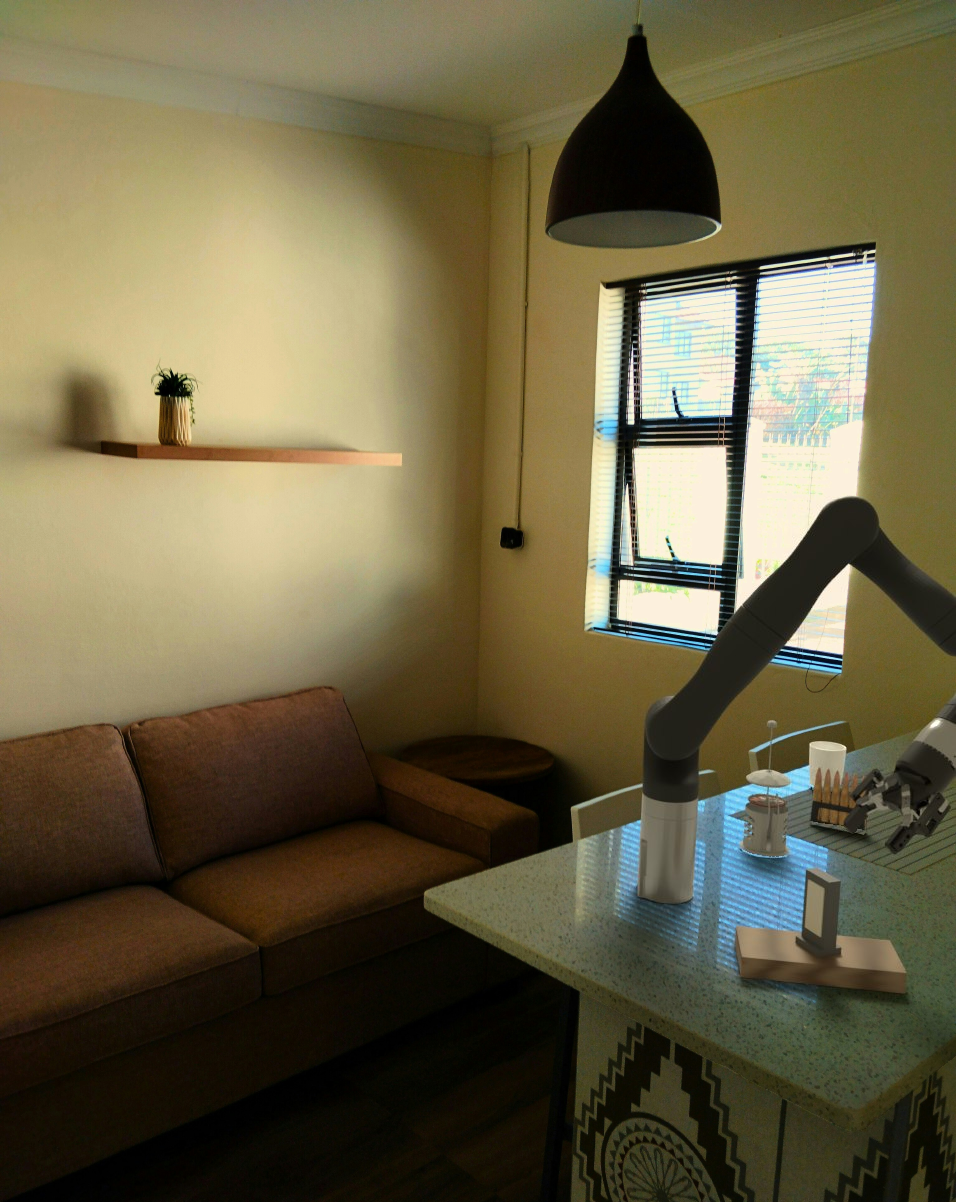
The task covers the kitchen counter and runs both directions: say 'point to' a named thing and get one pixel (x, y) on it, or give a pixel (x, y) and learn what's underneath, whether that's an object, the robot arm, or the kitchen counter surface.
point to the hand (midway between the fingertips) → (867, 839)
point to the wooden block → (819, 961)
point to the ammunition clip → (833, 799)
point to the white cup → (826, 760)
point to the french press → (766, 813)
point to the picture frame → (820, 914)
